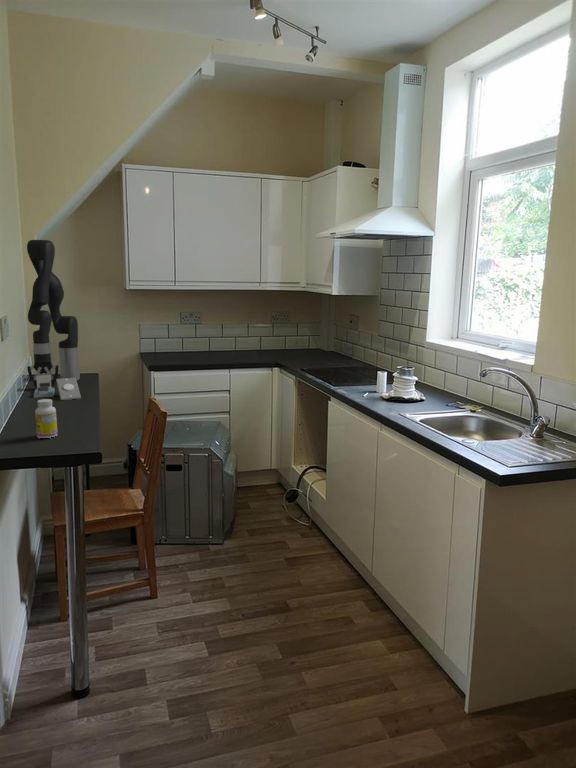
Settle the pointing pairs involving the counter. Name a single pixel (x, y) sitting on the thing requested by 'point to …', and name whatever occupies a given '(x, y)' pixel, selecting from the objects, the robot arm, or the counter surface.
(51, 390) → the plate
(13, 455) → the counter surface
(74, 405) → the counter surface
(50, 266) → the robot arm
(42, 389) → the din rail
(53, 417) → the supplement bottle
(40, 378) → the block
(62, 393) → the light switch
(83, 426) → the counter surface
